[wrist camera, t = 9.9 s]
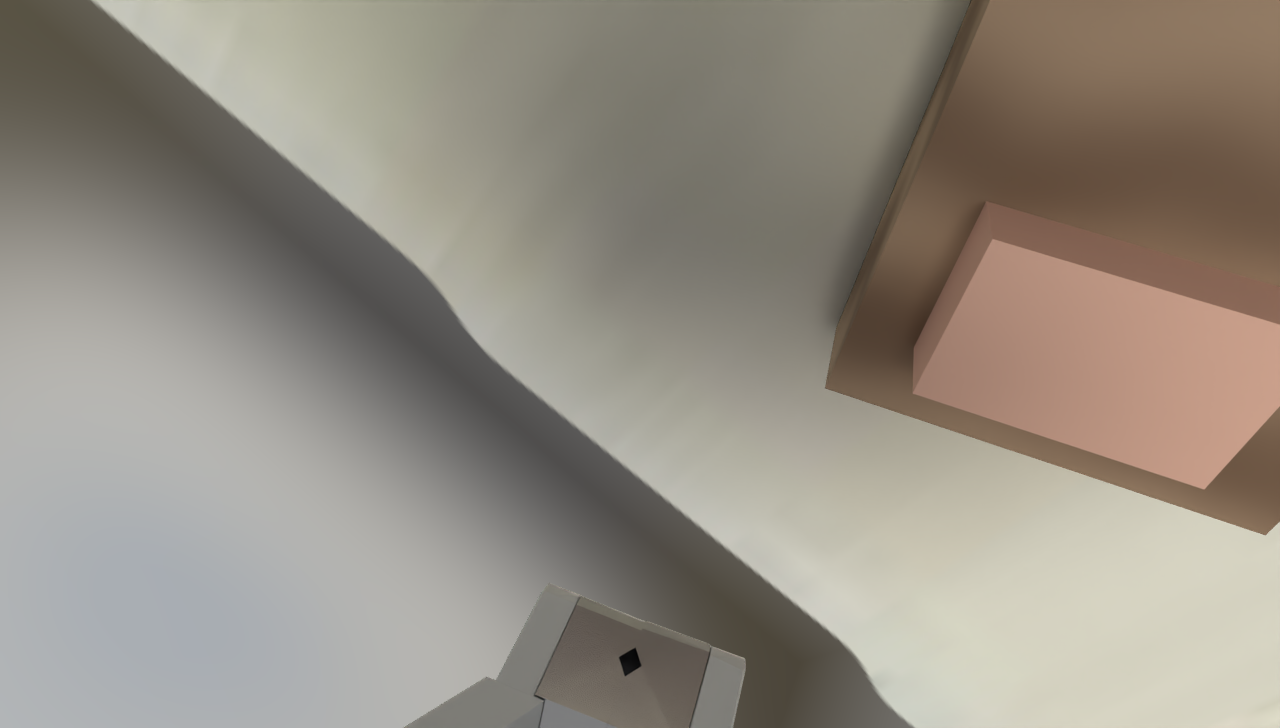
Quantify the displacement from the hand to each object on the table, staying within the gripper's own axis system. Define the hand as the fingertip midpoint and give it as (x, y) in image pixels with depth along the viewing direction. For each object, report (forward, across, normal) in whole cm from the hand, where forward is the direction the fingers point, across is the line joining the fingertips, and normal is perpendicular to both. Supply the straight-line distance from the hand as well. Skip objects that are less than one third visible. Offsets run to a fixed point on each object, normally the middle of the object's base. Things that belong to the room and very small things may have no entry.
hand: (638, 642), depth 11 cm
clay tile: (+15, -9, 0) cm, 17 cm away
